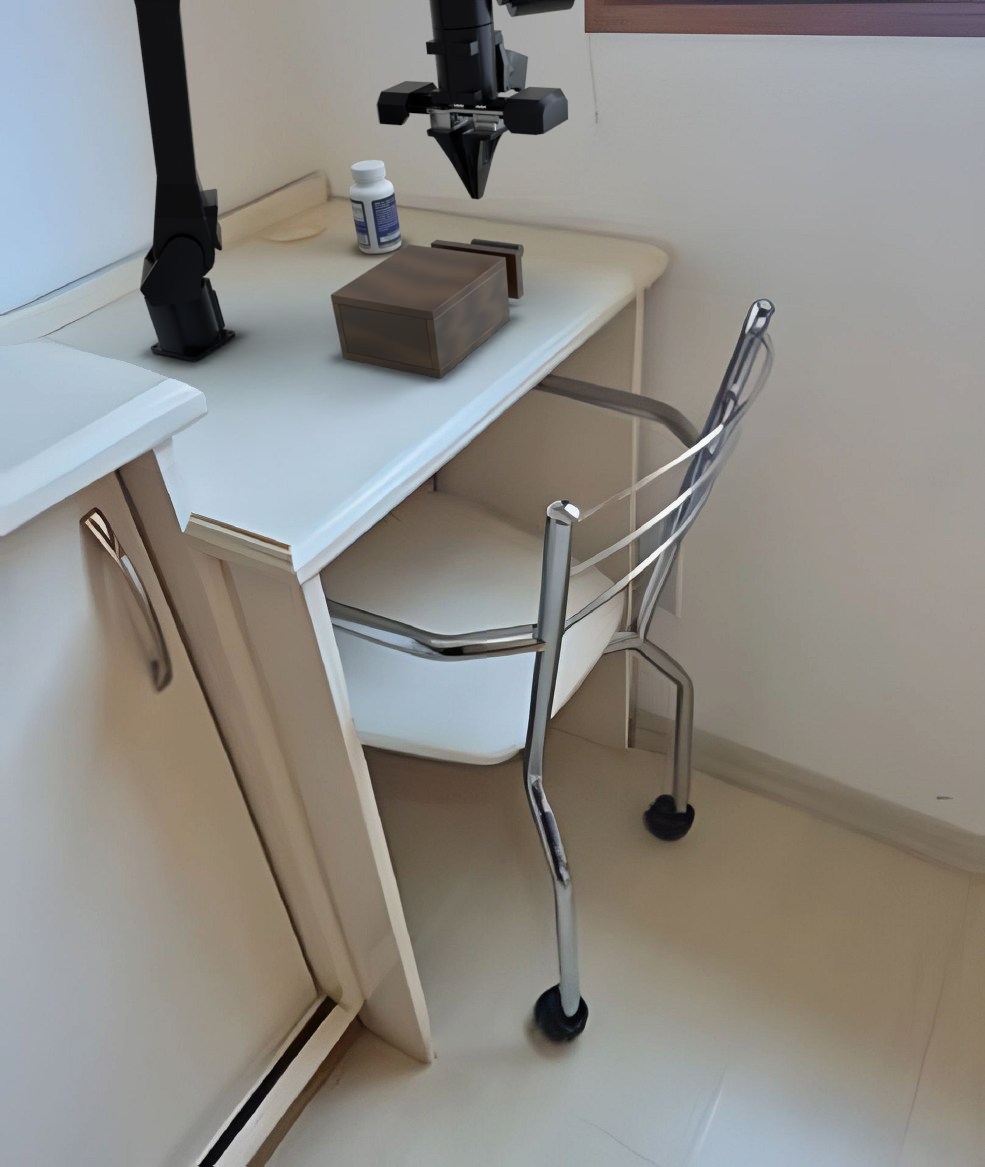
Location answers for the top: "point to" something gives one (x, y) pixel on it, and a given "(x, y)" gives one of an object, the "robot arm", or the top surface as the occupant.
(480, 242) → the drawer
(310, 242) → the top surface
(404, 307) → the cabinet
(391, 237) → the pill bottle
